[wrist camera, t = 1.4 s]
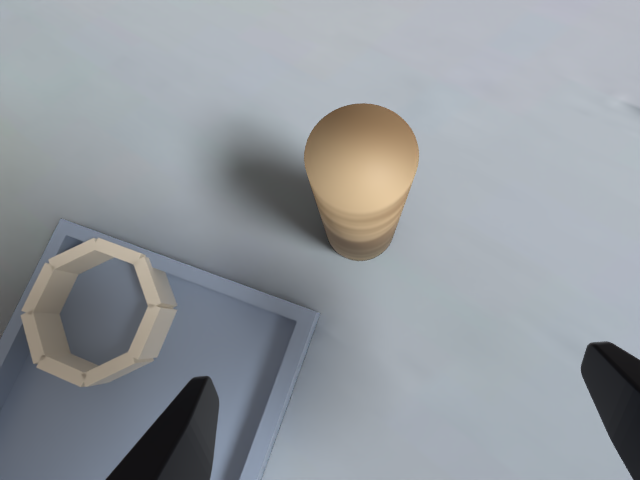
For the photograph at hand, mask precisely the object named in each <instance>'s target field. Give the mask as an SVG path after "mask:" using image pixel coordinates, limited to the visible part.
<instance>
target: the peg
mask: <svg viewBox="0 0 640 480" xmlns="http://www.w3.org/2000/svg"><path fill="white" fill-rule="evenodd" d="M418 161H419V149H418V144H417V141H416V138H415V135H414V133H413V131H412V130H411V128H410V127H409V125H408V124H407V123H406V122H405V121H404V120H403V119H402V118H401V117H400V116H399V115H397V114H396V113H394V112H393V111H391V110H389V109H387V108H384V107H381V106H378V105H373V104H352V105H347V106H344V107H341V108H339V109H336V110H334V111H332V112H331V113H329V114H328V115H326V116H325V117H324V118H323V119H321V120H320V121H319V122H318V124H317V125H316V126H315V127H314V129H313V130H312V132H311V133H310V135H309V138H308V140H307V143H306V146H305V152H304V162H305V168H306V172H307V175H308V178H309V182H310V185H311V188H312V191H313V194H314V197H315V200H316V203H317V206H318V209H319V213H320V216H321V219H322V222H323V225H324V228H325V231H326V234H327V237H328V240H329V242H330V244H331V246H332V247H333V248H334V250H335V251H336V252H337V253H339V254H340V255H341V256H343V257H345V258H348V259H351V260H355V261H365V260H370V259H373V258H375V257H377V256H379V255H380V254H382V253H383V252H384V251H385V250H386V249H387V247H388V246H389V245H390V243H391V241H392V238H393V235H394V233H395V230H396V227H397V224H398V221H399V218H400V216H401V213H402V210H403V207H404V204H405V202H406V199H407V196H408V193H409V190H410V188H411V185H412V182H413V179H414V176H415V173H416V171H417V167H418Z"/></svg>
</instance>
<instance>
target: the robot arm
mask: <svg viewBox="0 0 640 480" xmlns="http://www.w3.org/2000/svg"><path fill="white" fill-rule="evenodd" d="M581 373H582V377H583V379H584V381H585V384H586V386H587V388H588V390H589V393H590V395H591V397H592V399H593V402H594V404H595V406H596V408H597V410H598V413H599V415H600V417H601V419H602V422H603V424H604V426H605V428H606V431H607V433H608V435H609V437H610V439H611V441H612V443H613V445H614V446H615V448H616V450H617V452H618V454H619V455H620V457H621V459H622V461H623V462H624V464H625V466H626V468H627V469H628V471H629V473H630V475H631V476H632V478H633V480H640V360H639V359H637V358H636V357H634V356H633V355H631V354H629V353H628V352H626V351H624V350H623V349H621V348H619V347H618V346H616V345H614V344H613V343H610V342H605V341H604V342H593V343H590V344H589V345H588V346H587V348H586V351H585V355H584V358H583V361H582V364H581ZM218 413H219V397H218V394H217V391H216V389H215V386H214V384H213V382H212V379H211V378H210V377H209V376H198V377H193V378H192V379H191V380H190V381H189V382H188V383H187V384H186V385H185V387H184V388H183V389H182V390H181V391H180V392H179V394H178V395H177V396H176V397H175V398H174V400H173V401H172V402H171V403H170V404H169V405H168V407H167V408H166V409H165V410H164V411H163V412H162V414H161V415H160V416H159V417H158V418H157V419H156V421H155V422H154V423H153V424H152V425H151V427H150V428H149V429H148V430H147V431H146V432H145V434H144V435H143V436H142V437H141V438H140V439H139V441H138V442H137V443H136V444H135V445H134V446H133V448H132V449H131V450H130V451H129V452H128V454H127V455H126V456H125V457H124V458H123V459H122V461H121V462H120V463H119V464H118V465H117V466H116V468H115V469H114V470H113V471H112V472H111V473H110V475H109V476H108V477H107V478H106V479H105V480H210V477H211V472H212V466H213V458H214V449H215V440H216V431H217V422H218Z"/></svg>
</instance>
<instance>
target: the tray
mask: <svg viewBox="0 0 640 480" xmlns="http://www.w3.org/2000/svg"><path fill="white" fill-rule="evenodd" d="M319 316H320V313H318V312H316V311H313V310H311V309H308V308H305V307H303V306H300V305H297V304H294V303H292V302H289V301H286V300H283V299H281V298H278V297H275V296H272V295H270V294H267V293H264V292H261V291H259V290H256V289H253V288H251V287H248V286H245V285H242V284H240V283H237V282H234V281H231V280H229V279H226V278H223V277H220V276H218V275H215V274H212V273H209V272H207V271H204V270H201V269H198V268H196V267H193V266H190V265H188V264H185V263H182V262H179V261H177V260H174V259H171V258H168V257H166V256H163V255H160V254H157V253H155V252H152V251H149V250H146V249H144V248H141V247H138V246H136V245H133V244H130V243H127V242H125V241H122V240H119V239H116V238H114V237H111V236H108V235H105V234H103V233H100V232H97V231H94V230H92V229H89V228H86V227H84V226H81V225H78V224H75V223H73V222H70V221H67V220H64V219H62V218H61V219H60V221H59V223H58V225H57V227H56V229H55V231H54V233H53V235H52V237H51V239H50V241H49V243H48V245H47V247H46V249H45V251H44V253H43V255H42V257H41V259H40V261H39V263H38V265H37V267H36V269H35V271H34V273H33V275H32V277H31V279H30V281H29V283H28V285H27V287H26V289H25V291H24V293H23V295H22V297H21V299H20V301H19V303H18V305H17V307H16V309H15V311H14V313H13V315H12V317H11V319H10V321H9V323H8V325H7V327H6V329H5V331H4V333H3V335H2V337H1V339H0V480H105V479H106V478H107V477H108V476H109V475H110V473H111V472H112V471H113V470H114V469H115V468H116V466H117V465H118V464H119V463H120V462H121V461H122V459H123V458H124V457H125V456H126V455H127V454H128V452H129V451H130V450H131V449H132V448H133V446H134V445H135V444H136V443H137V442H138V441H139V439H140V438H141V437H142V436H143V435H144V434H145V432H146V431H147V430H148V429H149V428H150V427H151V425H152V424H153V423H154V422H155V421H156V419H157V418H158V417H159V416H160V415H161V414H162V412H163V411H164V410H165V409H166V408H167V407H168V405H169V404H170V403H171V402H172V401H173V400H174V398H175V397H176V396H177V395H178V394H179V392H180V391H181V390H182V389H183V388H184V387H185V385H186V384H187V383H188V382H189V381H190V380H191V379H192V378H193V377H198V376H209V377H210V378H211V379H212V382H213V384H214V386H215V389H216V391H217V394H218V397H219V413H218V422H217V431H216V440H215V449H214V458H213V466H212V472H211V477H210V480H261V479H262V476H263V474H264V471H265V468H266V465H267V462H268V460H269V457H270V454H271V451H272V448H273V445H274V443H275V440H276V437H277V434H278V431H279V429H280V426H281V423H282V420H283V417H284V414H285V412H286V409H287V406H288V403H289V400H290V398H291V395H292V392H293V389H294V386H295V384H296V381H297V378H298V375H299V372H300V369H301V367H302V364H303V361H304V358H305V355H306V353H307V350H308V347H309V344H310V341H311V338H312V336H313V333H314V330H315V327H316V324H317V322H318V319H319Z"/></svg>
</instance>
